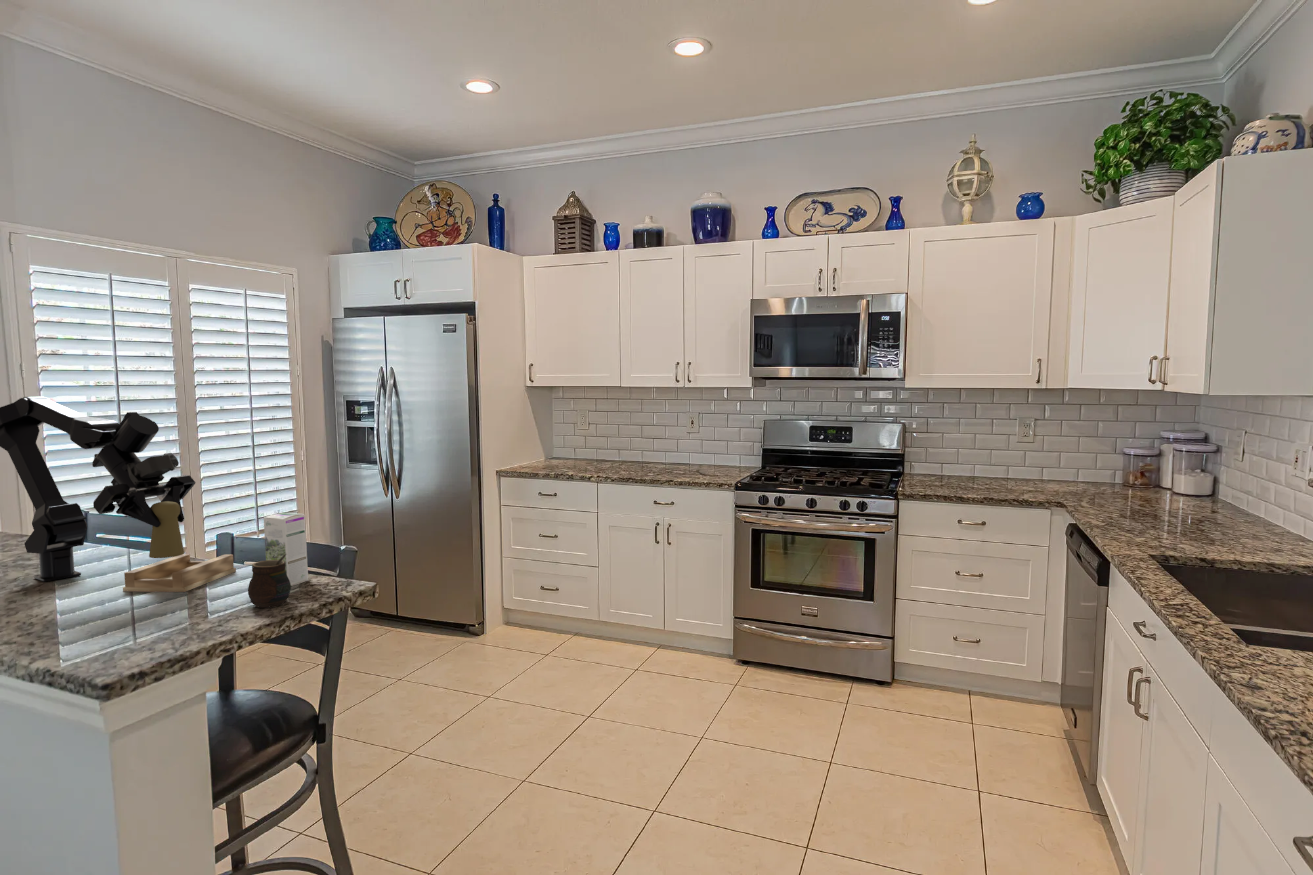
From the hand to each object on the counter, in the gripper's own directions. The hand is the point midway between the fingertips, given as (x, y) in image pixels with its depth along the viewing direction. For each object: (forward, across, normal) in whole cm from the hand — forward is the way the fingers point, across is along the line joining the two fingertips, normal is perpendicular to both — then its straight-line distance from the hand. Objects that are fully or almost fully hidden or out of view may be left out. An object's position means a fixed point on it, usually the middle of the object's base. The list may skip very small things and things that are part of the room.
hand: (171, 523), depth 147 cm
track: (+8, +4, +11) cm, 14 cm away
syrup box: (+24, +7, -6) cm, 26 cm away
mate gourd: (+30, -6, -12) cm, 33 cm away
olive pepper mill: (+4, 0, +6) cm, 7 cm away
